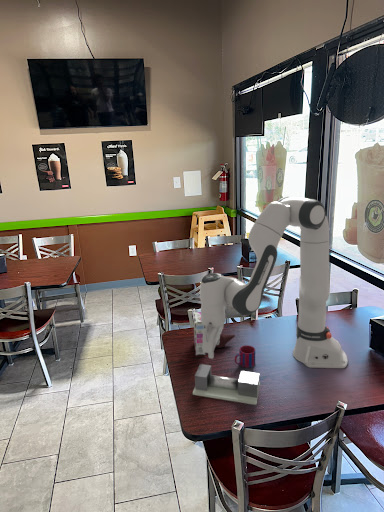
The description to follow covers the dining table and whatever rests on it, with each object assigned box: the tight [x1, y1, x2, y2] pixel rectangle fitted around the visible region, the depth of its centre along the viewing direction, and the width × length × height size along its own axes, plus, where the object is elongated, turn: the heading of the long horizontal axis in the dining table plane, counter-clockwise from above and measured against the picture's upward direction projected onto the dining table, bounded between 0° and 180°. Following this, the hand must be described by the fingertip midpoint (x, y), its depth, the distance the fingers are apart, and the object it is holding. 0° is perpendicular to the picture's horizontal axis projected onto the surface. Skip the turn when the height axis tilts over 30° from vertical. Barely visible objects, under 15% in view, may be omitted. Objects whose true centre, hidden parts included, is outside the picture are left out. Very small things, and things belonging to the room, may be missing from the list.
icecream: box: [215, 333, 236, 349], centre depth 166 cm, size 7×7×15 cm
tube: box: [207, 374, 239, 390], centre depth 138 cm, size 15×4×4 cm, turn 74°
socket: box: [194, 363, 212, 391], centre depth 139 cm, size 4×8×6 cm, turn 164°
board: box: [192, 381, 261, 406], centre depth 138 cm, size 24×12×1 cm, turn 74°
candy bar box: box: [193, 311, 207, 356], centre depth 164 cm, size 11×5×16 cm, turn 3°
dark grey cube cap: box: [238, 370, 260, 399], centre depth 134 cm, size 7×7×6 cm
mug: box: [234, 344, 256, 369], centre depth 152 cm, size 7×10×7 cm
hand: (214, 350), depth 134 cm, fingers open, 8 cm apart
